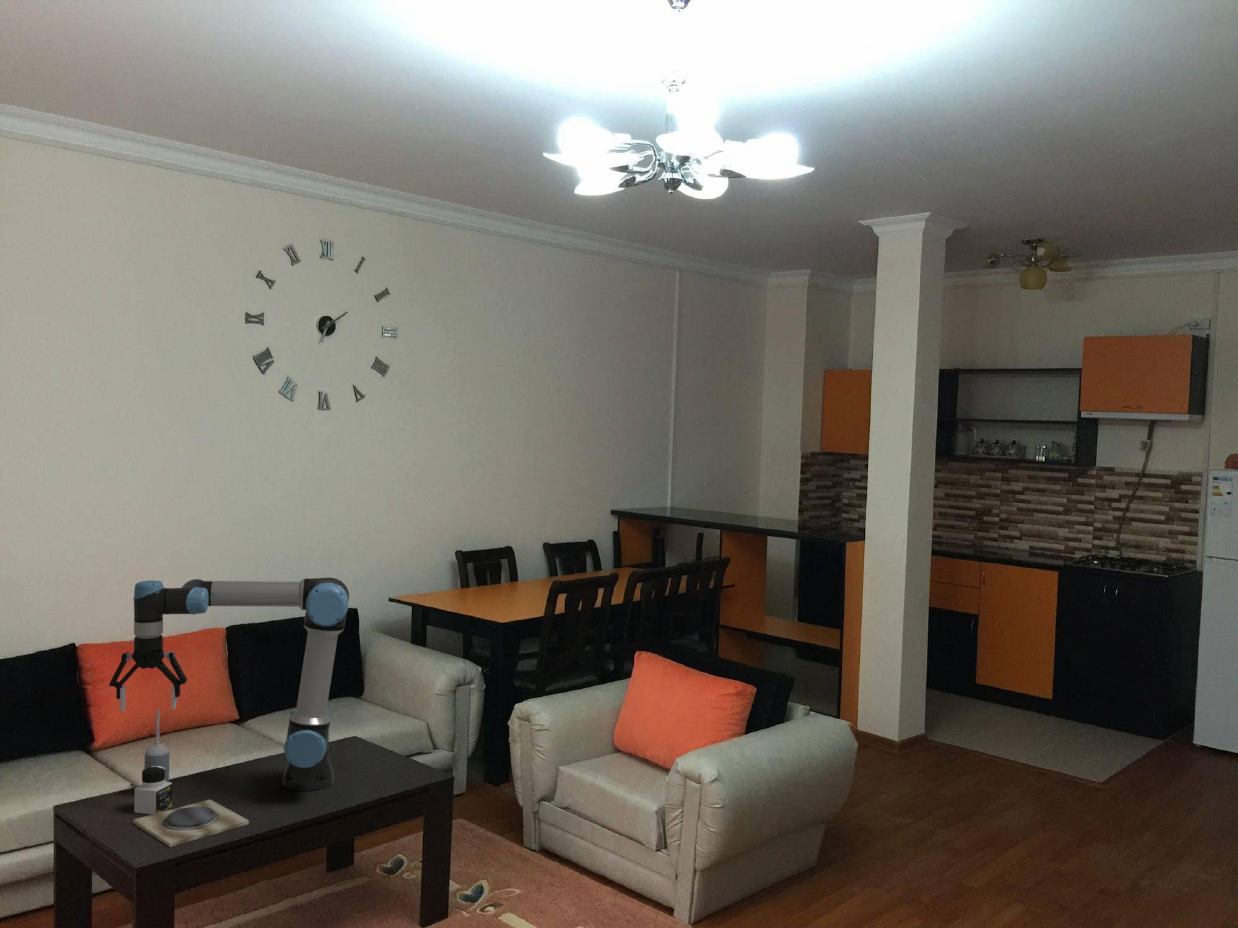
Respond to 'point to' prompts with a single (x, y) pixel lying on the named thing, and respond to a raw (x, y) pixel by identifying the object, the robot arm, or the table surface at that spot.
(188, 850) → the table surface
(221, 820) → the square wooden board
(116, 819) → the table surface
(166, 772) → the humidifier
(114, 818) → the table surface
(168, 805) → the medicine bottle
